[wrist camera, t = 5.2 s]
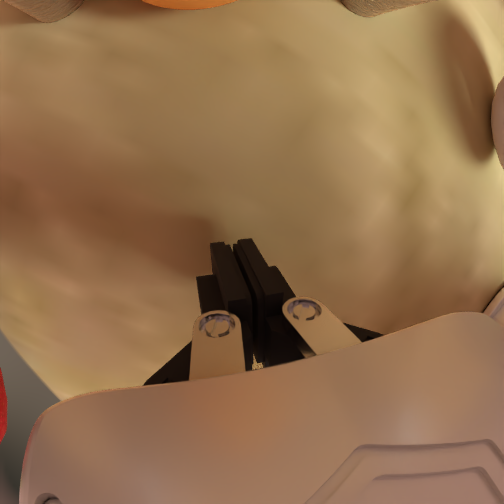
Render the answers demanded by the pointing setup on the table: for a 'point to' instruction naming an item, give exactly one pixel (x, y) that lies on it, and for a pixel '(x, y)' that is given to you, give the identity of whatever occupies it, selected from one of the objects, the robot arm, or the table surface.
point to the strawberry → (2, 408)
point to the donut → (498, 121)
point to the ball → (188, 3)
